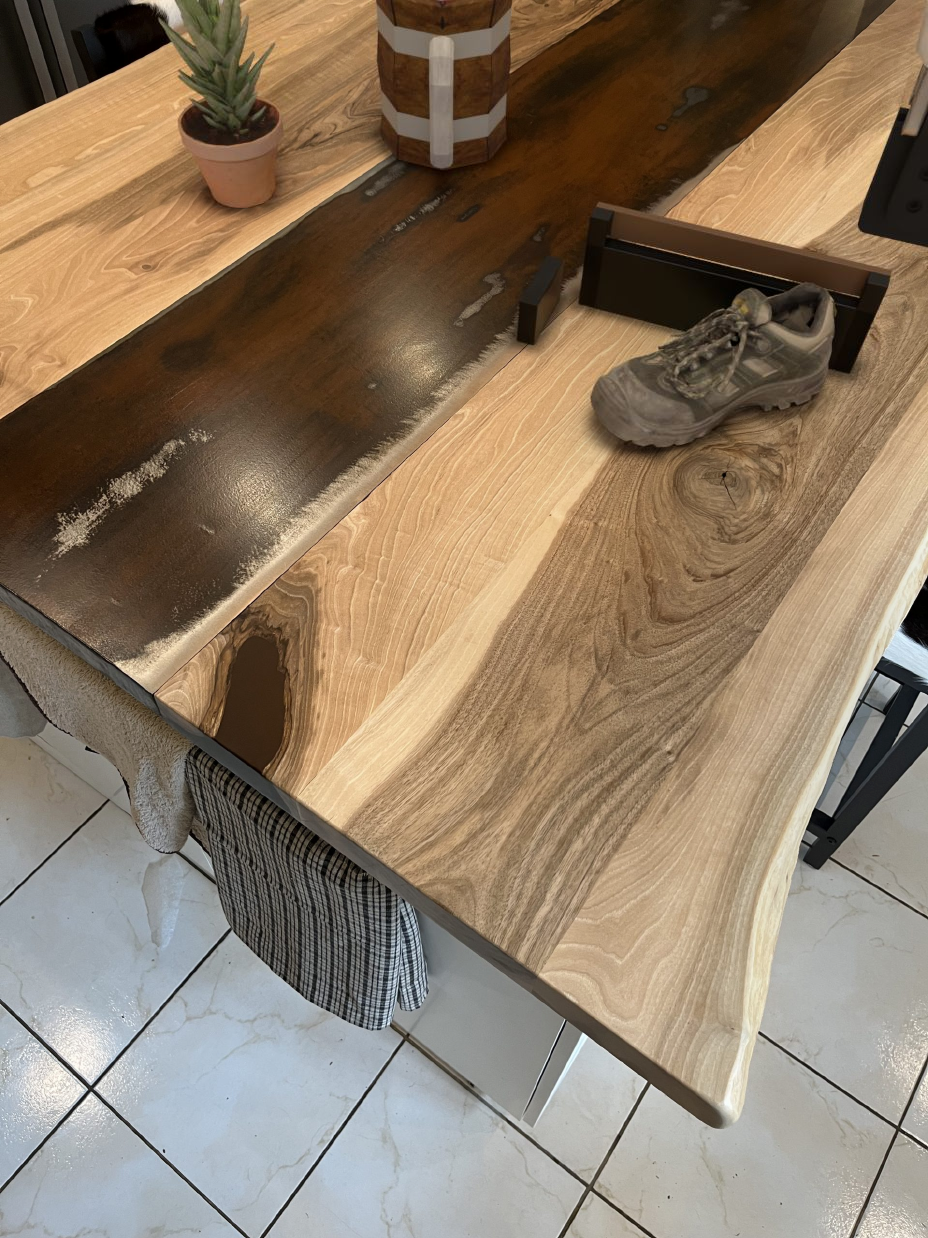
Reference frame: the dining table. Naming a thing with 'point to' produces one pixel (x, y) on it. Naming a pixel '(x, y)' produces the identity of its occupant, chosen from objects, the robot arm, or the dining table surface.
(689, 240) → the shoe rack
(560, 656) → the dining table surface
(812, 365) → the hiking shoe
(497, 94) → the mug
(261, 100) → the potted plant
